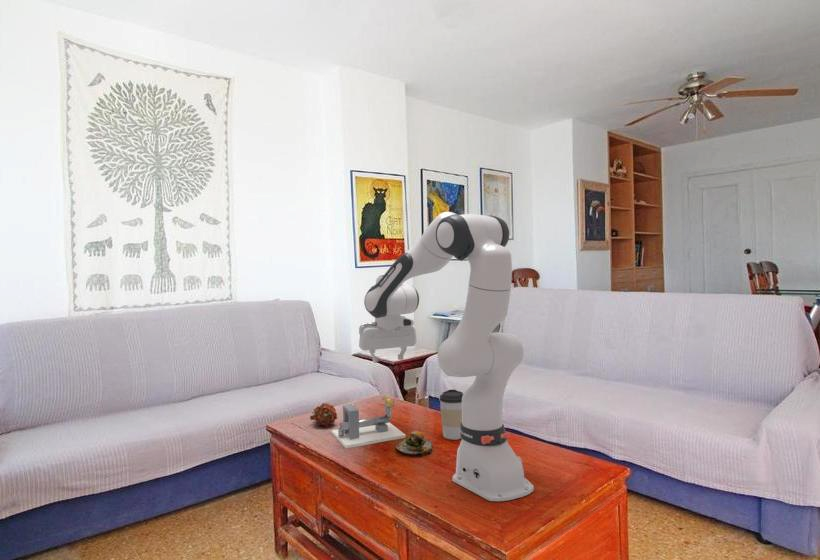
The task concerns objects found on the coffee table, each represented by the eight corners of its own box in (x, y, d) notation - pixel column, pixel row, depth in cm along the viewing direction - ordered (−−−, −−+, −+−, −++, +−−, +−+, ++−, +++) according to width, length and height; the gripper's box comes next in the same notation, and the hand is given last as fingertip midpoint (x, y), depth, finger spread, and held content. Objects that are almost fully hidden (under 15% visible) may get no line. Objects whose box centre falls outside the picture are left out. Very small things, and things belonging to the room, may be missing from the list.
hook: (388, 424, 174) (387, 395, 174) (394, 429, 169) (394, 399, 169) (335, 433, 166) (335, 403, 166) (341, 438, 161) (340, 407, 160)
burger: (391, 446, 158) (390, 423, 158) (425, 441, 162) (425, 419, 162) (402, 460, 147) (401, 436, 147) (438, 455, 151) (438, 431, 150)
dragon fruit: (331, 434, 174) (316, 430, 184) (347, 416, 179) (331, 413, 188) (316, 417, 172) (302, 414, 181) (332, 399, 176) (318, 397, 186)
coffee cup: (468, 440, 161) (467, 395, 161) (440, 440, 162) (439, 395, 161) (465, 431, 170) (464, 388, 170) (439, 431, 171) (438, 388, 170)
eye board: (387, 423, 180) (387, 395, 179) (405, 437, 165) (405, 407, 165) (331, 433, 171) (331, 403, 170) (345, 448, 156) (344, 416, 156)
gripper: (362, 324, 162) (362, 365, 163) (418, 320, 171) (418, 359, 172) (356, 322, 168) (356, 362, 169) (410, 318, 176) (410, 356, 177)
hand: (388, 360), depth 170 cm, fingers open, 8 cm apart
